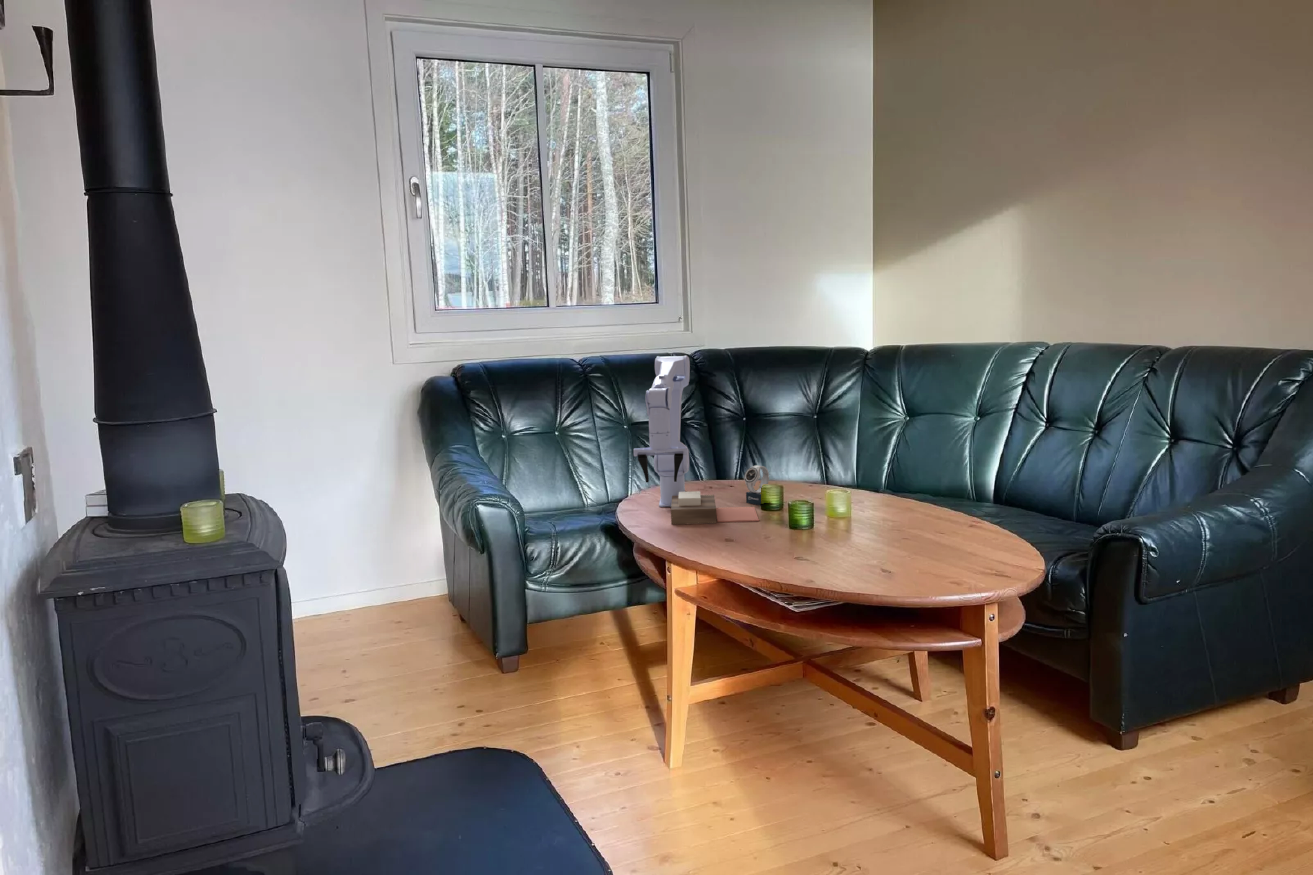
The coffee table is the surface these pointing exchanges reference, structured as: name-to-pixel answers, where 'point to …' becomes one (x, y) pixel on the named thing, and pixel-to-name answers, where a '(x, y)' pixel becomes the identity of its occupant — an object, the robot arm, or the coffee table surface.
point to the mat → (736, 514)
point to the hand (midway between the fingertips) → (661, 481)
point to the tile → (689, 498)
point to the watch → (751, 479)
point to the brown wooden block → (694, 511)
